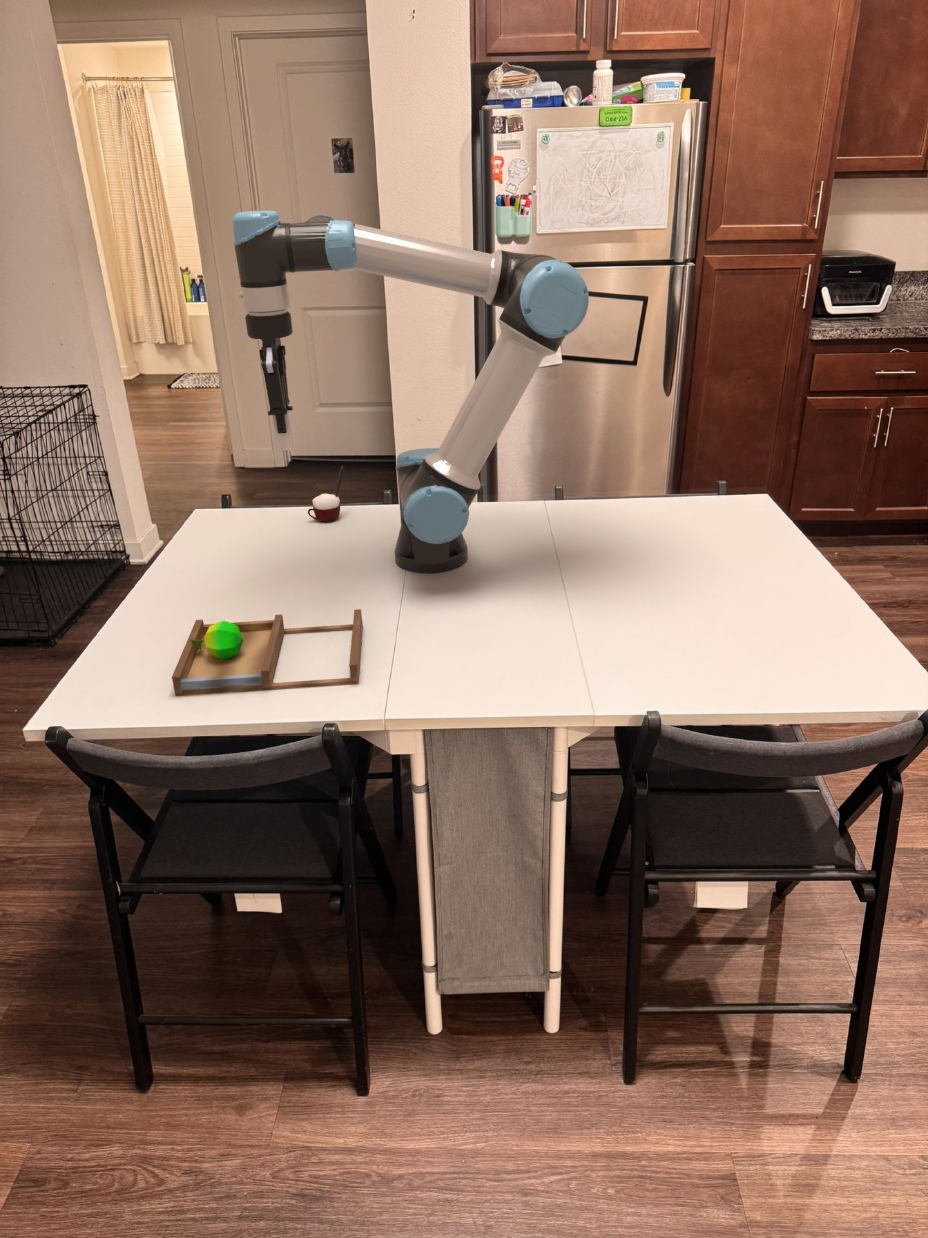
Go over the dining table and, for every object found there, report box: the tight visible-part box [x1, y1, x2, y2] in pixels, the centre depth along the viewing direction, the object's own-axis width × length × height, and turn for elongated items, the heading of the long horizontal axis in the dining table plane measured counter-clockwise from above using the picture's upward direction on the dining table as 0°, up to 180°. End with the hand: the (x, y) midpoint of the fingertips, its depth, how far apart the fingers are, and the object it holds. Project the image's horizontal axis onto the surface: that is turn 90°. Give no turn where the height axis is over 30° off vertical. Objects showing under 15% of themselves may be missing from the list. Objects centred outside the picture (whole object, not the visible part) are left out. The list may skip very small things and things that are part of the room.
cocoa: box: [307, 465, 345, 523], centre depth 214 cm, size 10×6×12 cm, turn 91°
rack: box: [171, 608, 364, 697], centre depth 157 cm, size 29×20×4 cm
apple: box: [191, 620, 243, 660], centre depth 156 cm, size 7×6×9 cm
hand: (285, 449), depth 165 cm, fingers closed
